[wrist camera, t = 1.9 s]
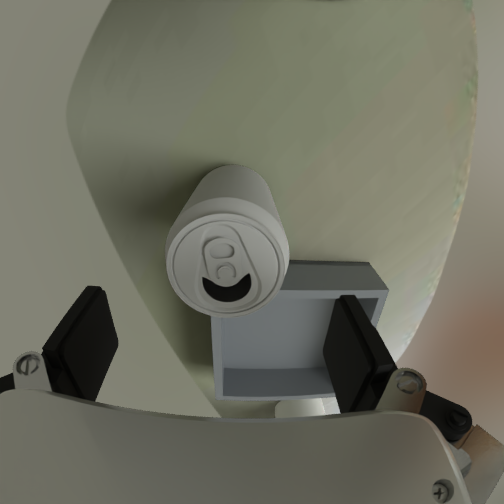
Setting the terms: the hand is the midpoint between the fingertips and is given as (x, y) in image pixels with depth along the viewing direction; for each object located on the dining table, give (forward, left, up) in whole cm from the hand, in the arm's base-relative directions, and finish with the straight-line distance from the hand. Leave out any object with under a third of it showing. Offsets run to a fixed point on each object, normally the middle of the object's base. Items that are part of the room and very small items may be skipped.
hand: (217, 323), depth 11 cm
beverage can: (-1, 0, -15) cm, 15 cm away
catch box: (+12, +6, -15) cm, 20 cm away
